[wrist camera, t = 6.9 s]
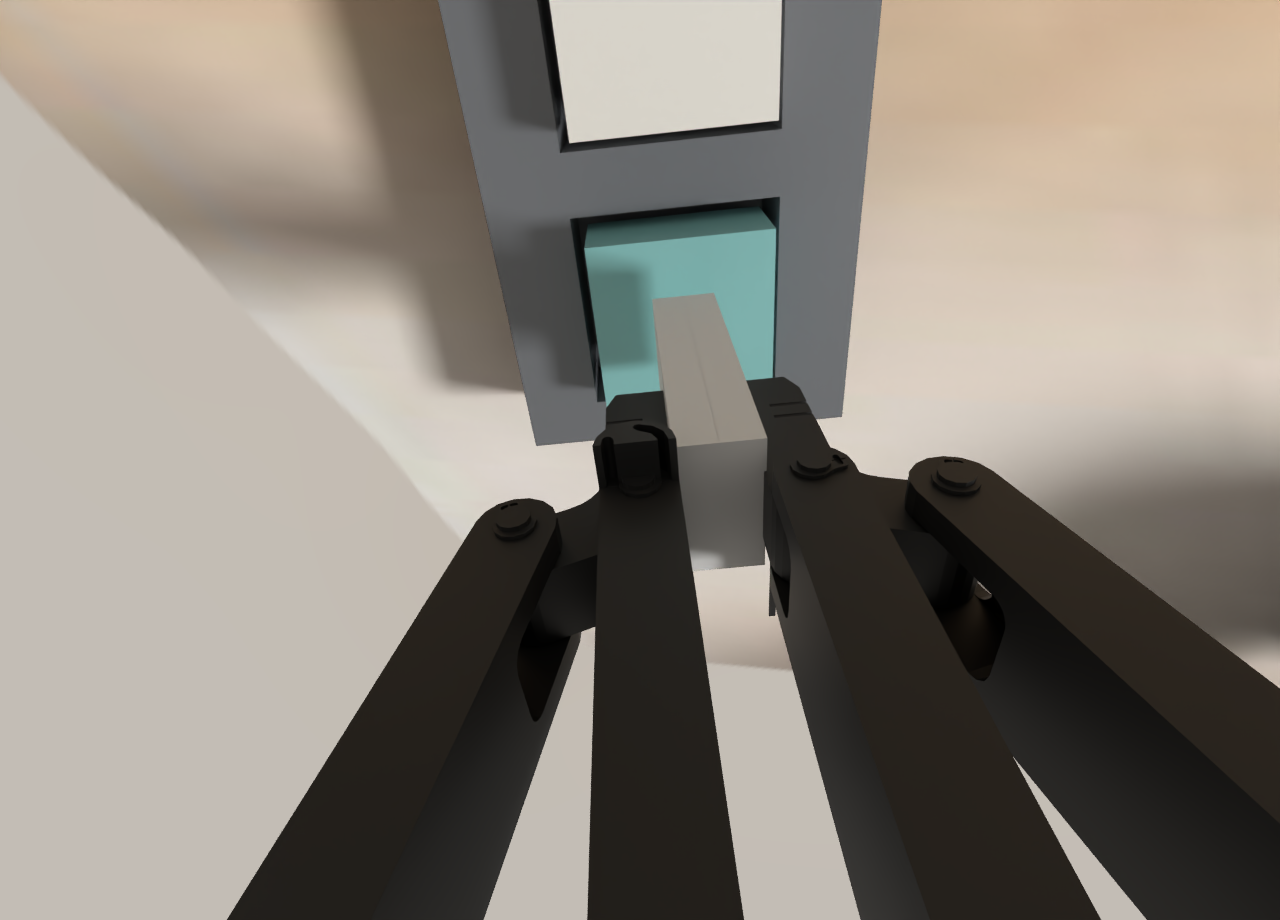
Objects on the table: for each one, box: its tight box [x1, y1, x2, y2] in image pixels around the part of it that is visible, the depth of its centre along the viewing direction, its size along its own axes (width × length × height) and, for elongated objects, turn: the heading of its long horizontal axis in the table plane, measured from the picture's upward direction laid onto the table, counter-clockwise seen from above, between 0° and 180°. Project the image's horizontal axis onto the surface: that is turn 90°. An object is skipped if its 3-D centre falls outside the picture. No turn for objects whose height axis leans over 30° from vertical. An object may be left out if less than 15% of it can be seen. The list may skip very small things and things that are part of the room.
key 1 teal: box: [584, 206, 776, 406], centre depth 18 cm, size 5×5×2 cm
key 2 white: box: [549, 0, 782, 143], centre depth 14 cm, size 5×5×2 cm
